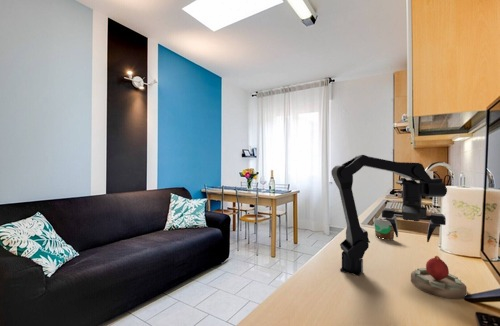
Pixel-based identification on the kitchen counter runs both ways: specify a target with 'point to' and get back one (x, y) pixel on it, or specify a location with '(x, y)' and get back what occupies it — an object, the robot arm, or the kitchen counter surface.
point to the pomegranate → (437, 268)
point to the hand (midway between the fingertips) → (411, 239)
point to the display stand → (439, 284)
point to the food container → (383, 228)
